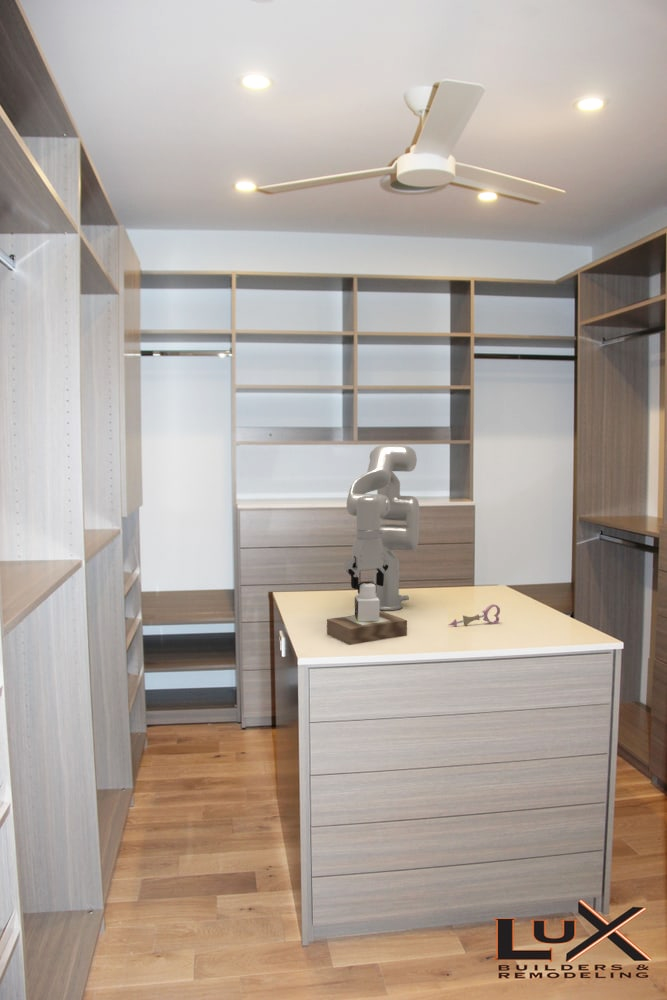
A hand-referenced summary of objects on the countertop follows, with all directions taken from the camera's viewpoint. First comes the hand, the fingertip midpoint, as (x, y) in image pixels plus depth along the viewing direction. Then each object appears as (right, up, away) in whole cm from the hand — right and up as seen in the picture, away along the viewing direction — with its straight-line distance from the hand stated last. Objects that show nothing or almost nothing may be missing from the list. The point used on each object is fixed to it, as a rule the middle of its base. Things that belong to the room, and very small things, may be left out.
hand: (367, 587), depth 241 cm
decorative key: (+37, -15, +15) cm, 43 cm away
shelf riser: (0, -16, +1) cm, 16 cm away
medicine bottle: (0, -11, +1) cm, 11 cm away
